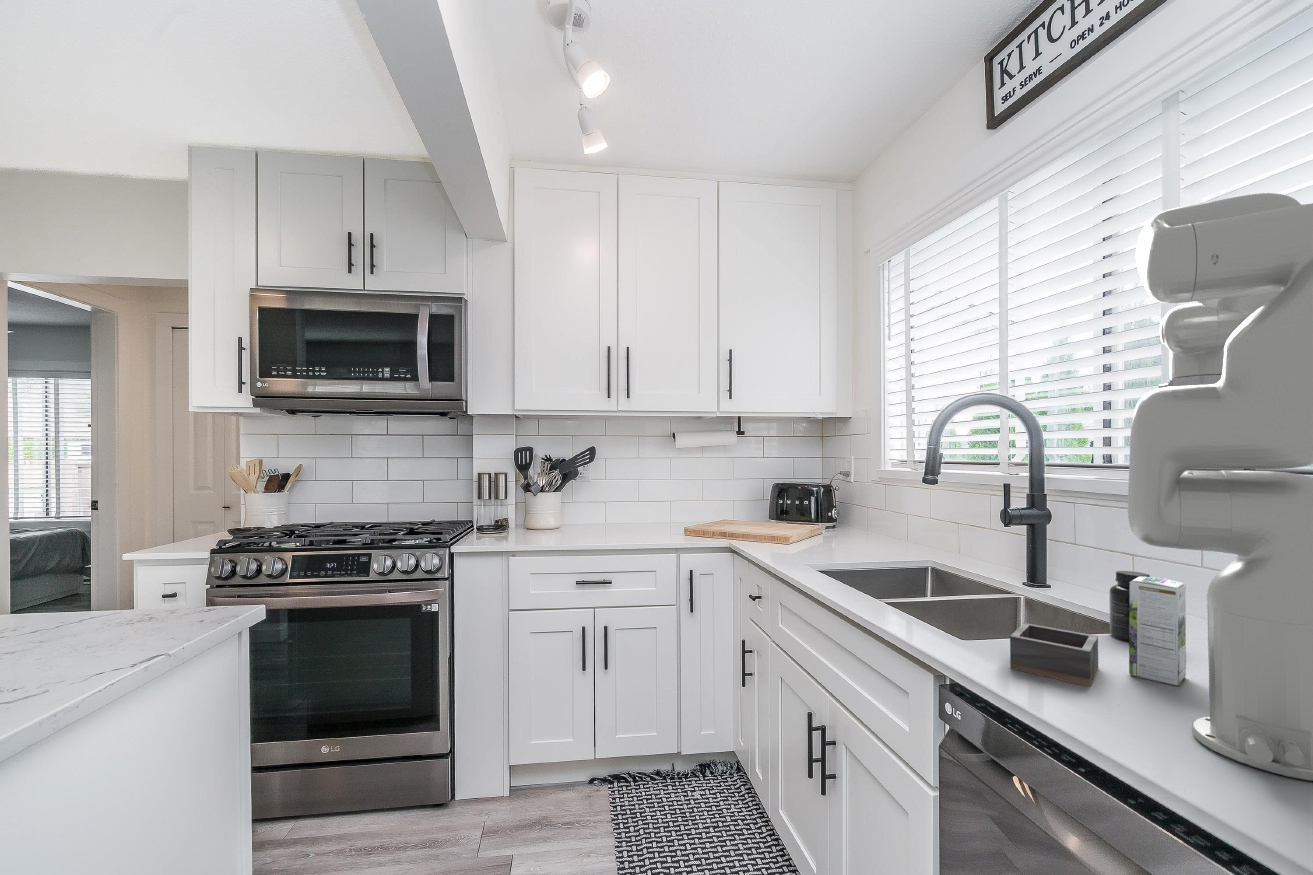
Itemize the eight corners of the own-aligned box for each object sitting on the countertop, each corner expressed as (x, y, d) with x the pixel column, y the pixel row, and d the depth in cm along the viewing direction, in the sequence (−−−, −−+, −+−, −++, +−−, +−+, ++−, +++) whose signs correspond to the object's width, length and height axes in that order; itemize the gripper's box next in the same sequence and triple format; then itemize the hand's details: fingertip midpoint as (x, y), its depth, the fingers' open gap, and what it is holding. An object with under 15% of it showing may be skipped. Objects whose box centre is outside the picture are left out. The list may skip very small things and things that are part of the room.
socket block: (1090, 686, 82) (1089, 651, 82) (1010, 668, 89) (1010, 636, 89) (1098, 667, 89) (1097, 635, 90) (1023, 652, 96) (1023, 622, 96)
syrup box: (1137, 666, 90) (1135, 574, 91) (1187, 678, 86) (1185, 581, 86) (1128, 675, 87) (1127, 579, 87) (1181, 687, 82) (1179, 586, 82)
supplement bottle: (1166, 646, 100) (1165, 578, 100) (1119, 642, 102) (1118, 575, 102) (1147, 635, 106) (1146, 570, 107) (1103, 631, 109) (1102, 568, 109)
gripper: (1130, 390, 97) (1132, 491, 96) (1280, 382, 85) (1284, 497, 84) (1134, 395, 102) (1136, 490, 102) (1276, 387, 90) (1280, 495, 89)
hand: (1203, 493), depth 93 cm, fingers open, 9 cm apart
